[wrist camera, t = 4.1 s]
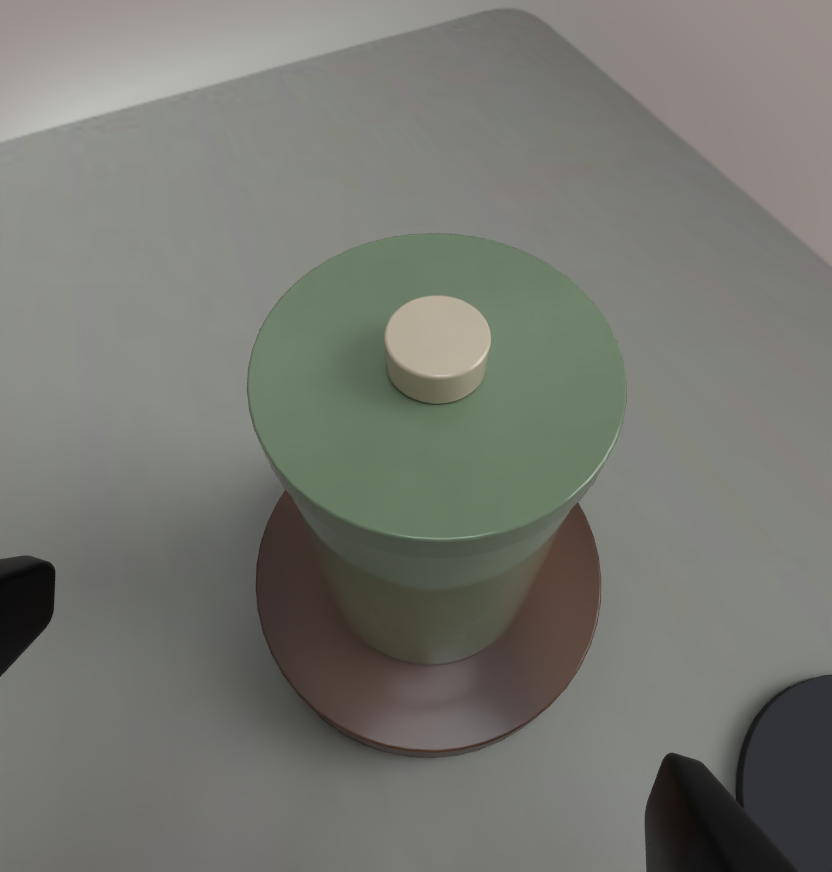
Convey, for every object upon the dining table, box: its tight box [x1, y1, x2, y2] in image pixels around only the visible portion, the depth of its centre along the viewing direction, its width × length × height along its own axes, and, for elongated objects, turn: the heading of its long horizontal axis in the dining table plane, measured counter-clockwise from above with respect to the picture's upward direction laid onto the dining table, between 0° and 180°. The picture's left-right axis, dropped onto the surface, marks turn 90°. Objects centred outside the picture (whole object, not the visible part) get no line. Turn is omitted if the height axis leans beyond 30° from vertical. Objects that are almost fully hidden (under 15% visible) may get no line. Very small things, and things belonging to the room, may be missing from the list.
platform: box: [256, 490, 601, 758], centre depth 21 cm, size 11×11×2 cm
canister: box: [247, 233, 627, 665], centre depth 15 cm, size 7×7×11 cm
